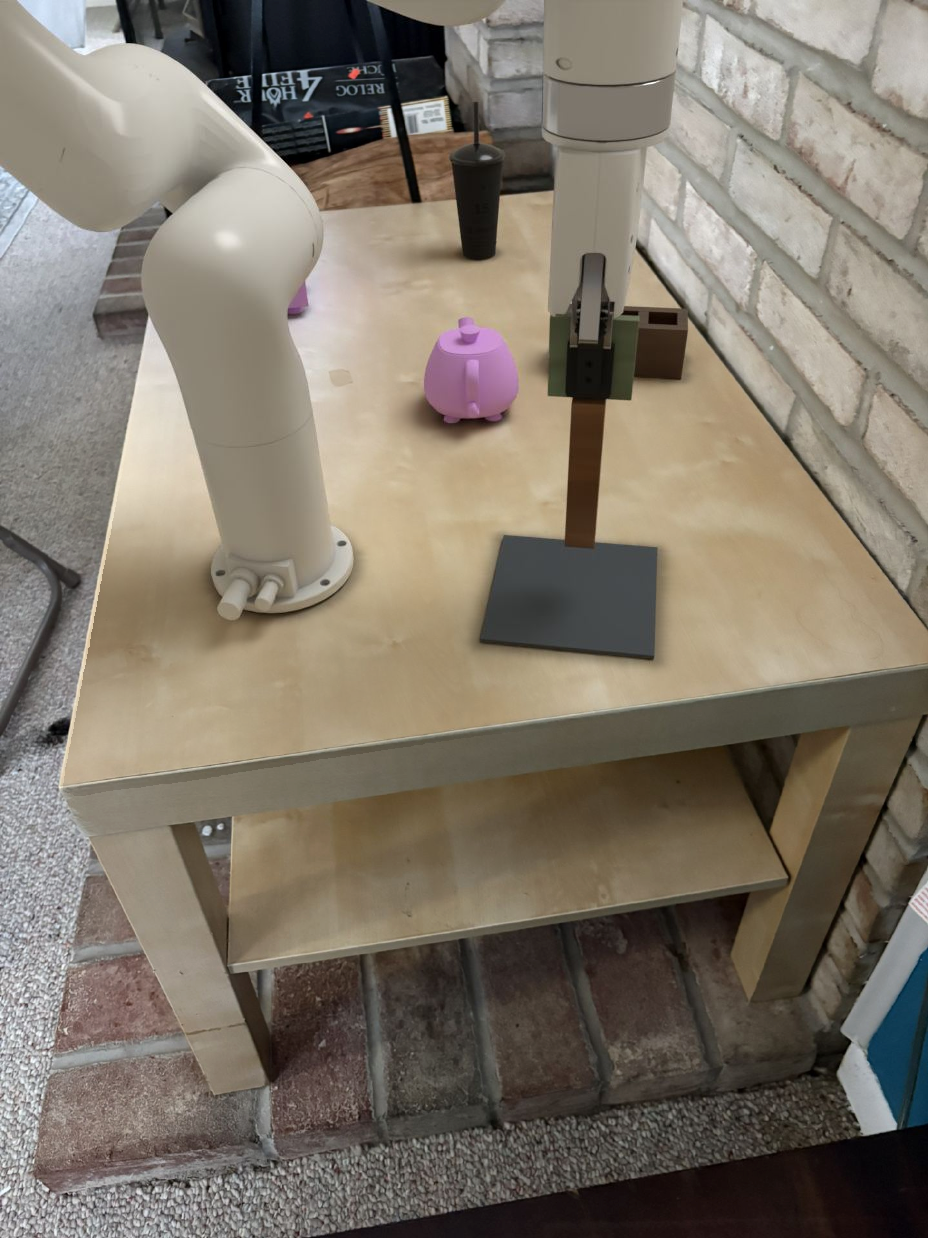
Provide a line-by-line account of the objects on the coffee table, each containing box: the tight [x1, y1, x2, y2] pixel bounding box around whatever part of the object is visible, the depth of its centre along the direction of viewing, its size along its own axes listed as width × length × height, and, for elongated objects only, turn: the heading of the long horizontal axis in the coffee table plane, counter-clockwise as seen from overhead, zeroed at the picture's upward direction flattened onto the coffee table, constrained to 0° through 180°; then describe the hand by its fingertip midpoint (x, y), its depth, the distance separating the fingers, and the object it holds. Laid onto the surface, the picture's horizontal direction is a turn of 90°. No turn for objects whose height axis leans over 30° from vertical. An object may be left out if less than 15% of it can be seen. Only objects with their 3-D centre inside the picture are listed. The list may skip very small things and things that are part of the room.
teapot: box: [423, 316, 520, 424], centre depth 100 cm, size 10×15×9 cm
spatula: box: [547, 313, 639, 549], centre depth 69 cm, size 2×6×19 cm, turn 80°
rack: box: [566, 303, 689, 380], centre depth 107 cm, size 6×14×6 cm, turn 80°
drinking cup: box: [448, 101, 506, 261], centre depth 129 cm, size 8×8×20 cm
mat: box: [479, 534, 658, 660], centre depth 79 cm, size 14×14×1 cm
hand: (588, 389), depth 66 cm, fingers closed on spatula, 1 cm apart
